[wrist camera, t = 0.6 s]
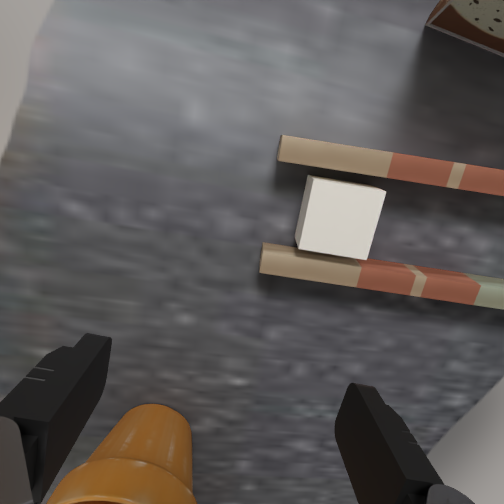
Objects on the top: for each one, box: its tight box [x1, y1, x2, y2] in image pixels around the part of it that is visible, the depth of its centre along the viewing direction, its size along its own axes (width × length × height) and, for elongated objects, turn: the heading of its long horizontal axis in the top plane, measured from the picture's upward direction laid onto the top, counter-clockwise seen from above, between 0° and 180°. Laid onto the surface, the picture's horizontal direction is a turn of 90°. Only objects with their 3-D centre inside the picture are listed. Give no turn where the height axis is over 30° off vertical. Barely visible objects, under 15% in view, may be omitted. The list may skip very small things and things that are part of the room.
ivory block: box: [295, 175, 386, 260], centre depth 30 cm, size 6×6×4 cm
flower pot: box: [46, 404, 197, 504], centre depth 35 cm, size 14×14×13 cm
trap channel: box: [259, 135, 504, 310], centre depth 30 cm, size 12×28×3 cm, turn 82°
